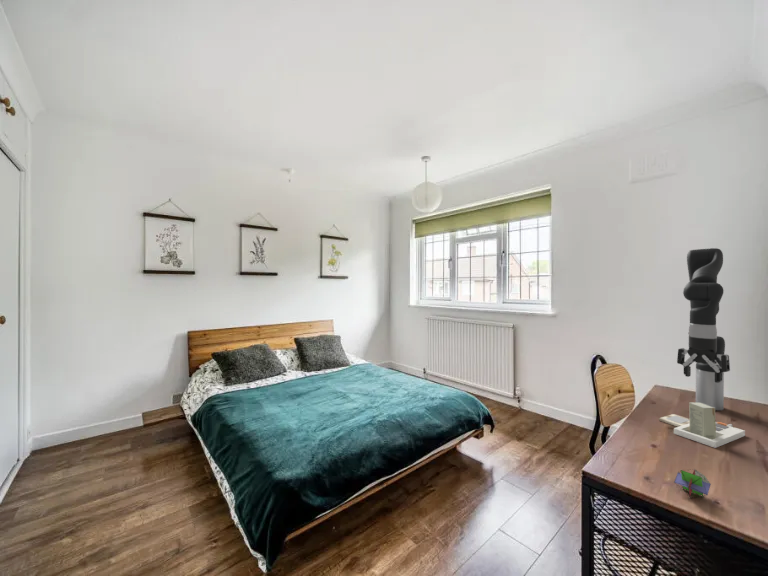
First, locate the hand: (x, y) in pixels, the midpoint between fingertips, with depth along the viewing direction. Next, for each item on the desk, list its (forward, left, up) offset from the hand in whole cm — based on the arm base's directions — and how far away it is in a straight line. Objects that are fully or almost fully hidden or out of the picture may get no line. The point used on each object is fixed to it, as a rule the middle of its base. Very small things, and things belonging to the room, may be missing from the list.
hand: (702, 379), depth 122 cm
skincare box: (0, 0, -22) cm, 22 cm away
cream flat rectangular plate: (-8, -11, -22) cm, 26 cm away
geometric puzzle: (+45, +16, -22) cm, 53 cm away
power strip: (-8, 0, -22) cm, 23 cm away
